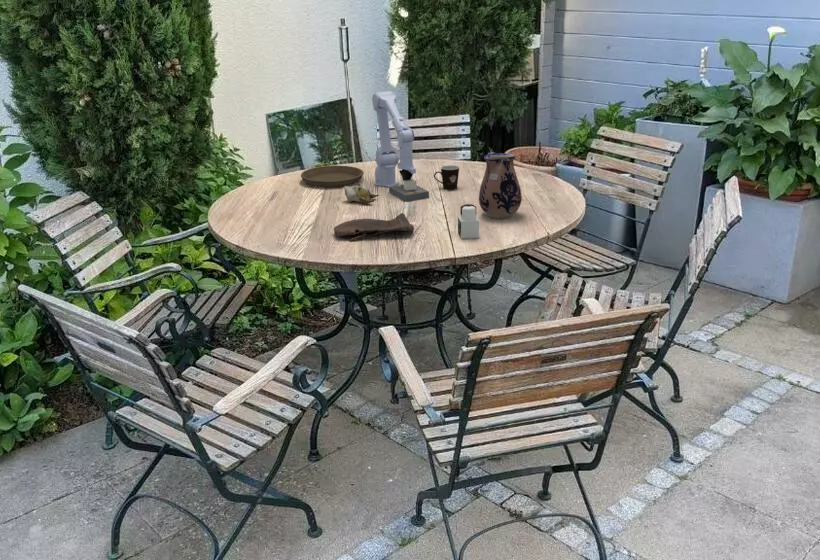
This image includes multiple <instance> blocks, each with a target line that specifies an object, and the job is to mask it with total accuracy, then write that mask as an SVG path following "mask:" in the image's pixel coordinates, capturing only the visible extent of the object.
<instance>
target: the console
mask: <svg viewBox="0 0 820 560" xmlns="http://www.w3.org/2000/svg"><path fill="white" fill-rule="evenodd" d="M416 188H417V189H414V190H408V191H406V190H404V183H403V184H397V185H394V186H390V187H388V193H389V194H390V195H392V196H394V197H395V198H397V199H400V200H401V201H402V202H405V203H408V202H413V201H418V200H424V199H425V200H426V199H429V198H430V191H429V190H427V189H425V188H423V187H421V186H419V185H417V184H416Z"/></svg>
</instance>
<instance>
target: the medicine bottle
mask: <svg viewBox="0 0 820 560" xmlns="http://www.w3.org/2000/svg"><path fill="white" fill-rule="evenodd" d="M457 233H458V236H459V238H460V240H463V239H465V240H466V239H478V238H480V220H479V218H478V217H477V206H476V205H474V204H472V203H469V204H463V205H461V206H460V215H458V216H457Z"/></svg>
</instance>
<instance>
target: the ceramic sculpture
mask: <svg viewBox="0 0 820 560" xmlns="http://www.w3.org/2000/svg"><path fill="white" fill-rule="evenodd" d="M343 188H344V195H345V197H346V201H347V202H348V203H351V202H353V201H354V202H358V203H363V204H370V203H374V199H375V198H378V197H379V196H380V194H375V193H372V192H371V190H370V189H369V188H368V187H367V186H364V185H361V183H356V185H355V184H354V186H353V187H350V186H344V187H343Z"/></svg>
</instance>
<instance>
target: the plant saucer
mask: <svg viewBox="0 0 820 560" xmlns="http://www.w3.org/2000/svg"><path fill="white" fill-rule="evenodd" d="M363 175H364V170H362V168H358V167H355V166H351V165H325V166H324V165H321V166H316V167H312V168H309V169H306V170H304V171H302V172H301V174H300V177H301V179H302V181H303V182H305V183H306V184H307V186H310V187H314V188H317V189H318V188H319V189H336V188H337V189H338V188H344V186H348V187H350V186H353V185H355V184H358V182H359V181H360V180H361V179H362V178H363Z"/></svg>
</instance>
